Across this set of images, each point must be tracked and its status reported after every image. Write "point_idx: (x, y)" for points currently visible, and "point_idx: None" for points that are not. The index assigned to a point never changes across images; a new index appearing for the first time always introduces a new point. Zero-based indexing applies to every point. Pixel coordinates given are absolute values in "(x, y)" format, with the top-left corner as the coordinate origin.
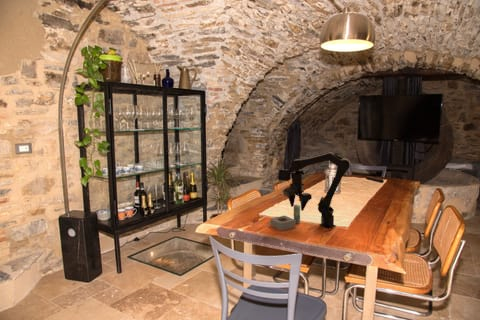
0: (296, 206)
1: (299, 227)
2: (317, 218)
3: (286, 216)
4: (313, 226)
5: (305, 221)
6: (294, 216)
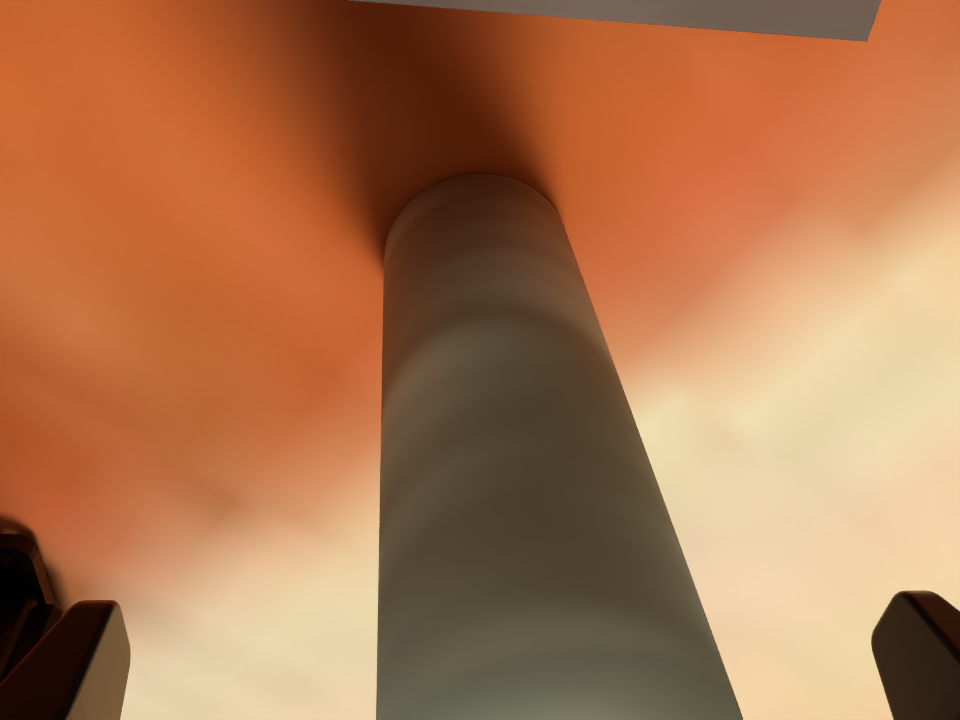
0: (440, 687)
1: (89, 52)
2: None
3: (720, 3)
4: (12, 404)
5: None
6: (503, 283)
